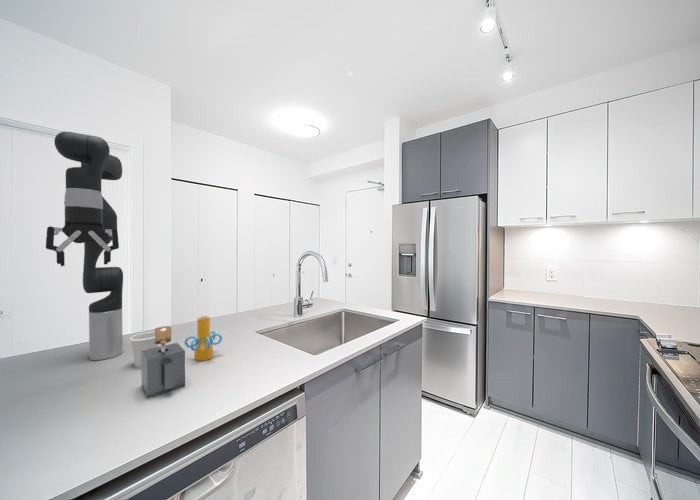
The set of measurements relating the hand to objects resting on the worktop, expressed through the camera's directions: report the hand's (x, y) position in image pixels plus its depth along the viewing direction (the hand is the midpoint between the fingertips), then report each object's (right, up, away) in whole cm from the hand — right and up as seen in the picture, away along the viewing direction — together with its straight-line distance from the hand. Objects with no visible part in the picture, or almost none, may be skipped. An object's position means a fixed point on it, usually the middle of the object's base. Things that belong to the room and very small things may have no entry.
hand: (84, 265), depth 74 cm
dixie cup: (+2, -36, +19) cm, 41 cm away
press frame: (+20, -36, +4) cm, 41 cm away
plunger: (+19, -34, +4) cm, 39 cm away
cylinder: (+20, -36, +24) cm, 48 cm away
